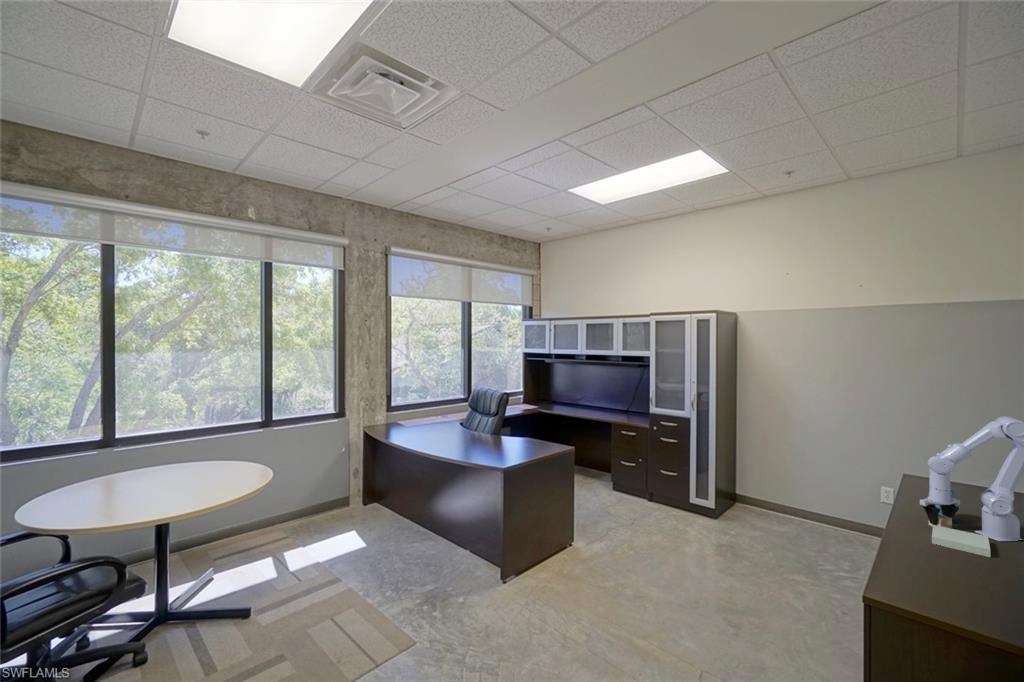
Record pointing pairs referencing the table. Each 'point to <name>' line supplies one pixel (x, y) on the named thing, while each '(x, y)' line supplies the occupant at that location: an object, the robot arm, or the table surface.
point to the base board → (961, 540)
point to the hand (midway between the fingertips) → (940, 523)
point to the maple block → (943, 521)
